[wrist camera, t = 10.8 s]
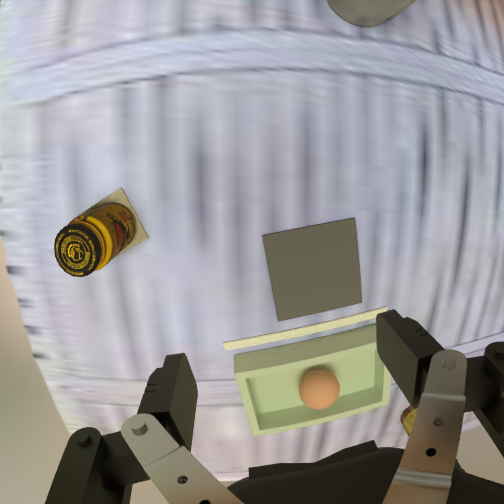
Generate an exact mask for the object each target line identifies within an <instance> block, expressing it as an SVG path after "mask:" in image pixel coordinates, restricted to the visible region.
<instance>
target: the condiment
mask: <svg viewBox="0 0 504 504" xmlns="http://www.w3.org/2000/svg"><path fill="white" fill-rule="evenodd" d="M148 238H149V237H148V236H147V234H146V232H145V230H144V228H143V226H142V224H141V223H140V221H139V219H138V217H137V215H136V213H135V212H134V210H133V208H132V206H131V204H130V202H129V201H128V199H127V197H126V195H125V193H124V192H123V190H122V188H120V189H118V190H117V191H115V192H114V193H112V194H111V195H109V196H108V197H106V198H104V199H103V200H101V201H100V202H98V203H97V204H95V205H94V206H92V207H91V208H89V209H88V210H86V211H85V212H83V213H82V214H80V215H79V216H77V217H76V218H75V219H73V220H72V221H71V222H70V223H69V224H68V225H67V226H65V227H64V228H63V229H61V230H60V232H59V233H58V234H57V236H56V239H55V245H54V251H55V257H56V260H57V262H58V263H59V265H60V267H61V268H62V269H63V270H64V271H65V272H66V273H68V274H70V275H72V276H76V277H84V276H86V275H87V276H88V275H89V274H90V273H92V272H93V271H96V270H100V269H101V268H103V267H104V266H106V265H107V264H108V263H109V262H110V261H111V260H112V259H113V258H115V257H116V256H118V255H120V254H121V253H123V252H125V251H127V250H128V249H130V248H132V247H134V246H135V245H137V244H139V243H141V242H142V241H144V240H146V239H148Z"/></svg>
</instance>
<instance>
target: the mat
mask: <svg viewBox="0 0 504 504" xmlns="http://www.w3.org/2000/svg"><path fill="white" fill-rule="evenodd" d="M262 237H263V242H264V247H265V253H266V258H267V263H268V269H269V274H270V279H271V285H272V290H273V296H274V301H275V307H276V312H277V318H278V321H283V320H288V319H293V318H297V317H302V316H306V315H311V314H316V313H320V312H324V311H329V310H333V309H337V308H341V307H346V306H350V305H354V304H358V303H362V292H361V277H360V264H359V252H358V242H357V232H356V223H355V218H350V219H345V220H339V221H334V222H329V223H323V224H318V225H313V226H308V227H303V228H297V229H292V230H287V231H282V232H277V233H272V234H267V235H262Z"/></svg>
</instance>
